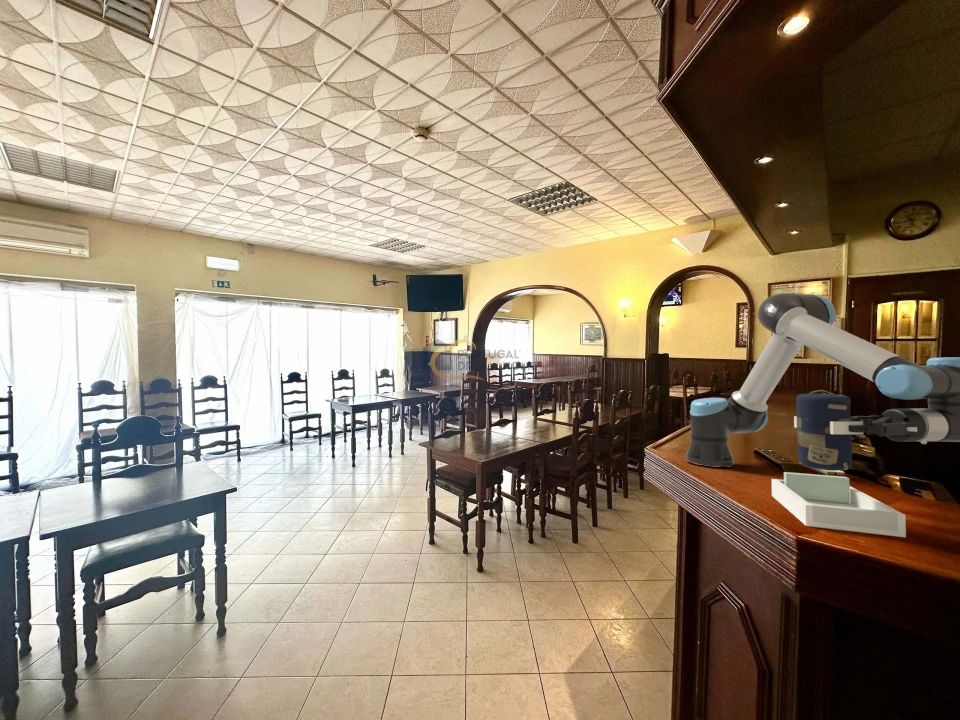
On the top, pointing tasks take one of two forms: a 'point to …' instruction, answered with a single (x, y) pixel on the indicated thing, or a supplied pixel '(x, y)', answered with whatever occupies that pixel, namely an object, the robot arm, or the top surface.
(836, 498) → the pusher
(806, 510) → the white tray
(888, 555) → the top surface
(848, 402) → the dark blue canister
